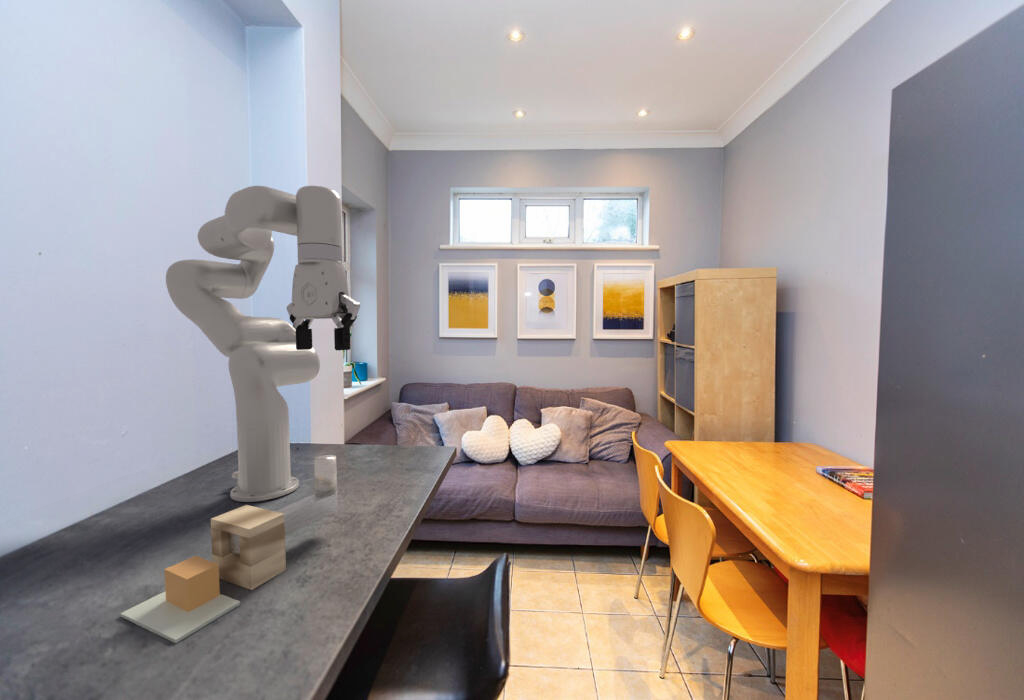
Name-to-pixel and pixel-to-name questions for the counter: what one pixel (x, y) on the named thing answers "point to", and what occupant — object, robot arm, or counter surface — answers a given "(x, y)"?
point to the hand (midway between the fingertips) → (323, 349)
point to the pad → (177, 616)
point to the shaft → (309, 500)
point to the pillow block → (249, 545)
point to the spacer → (192, 583)
